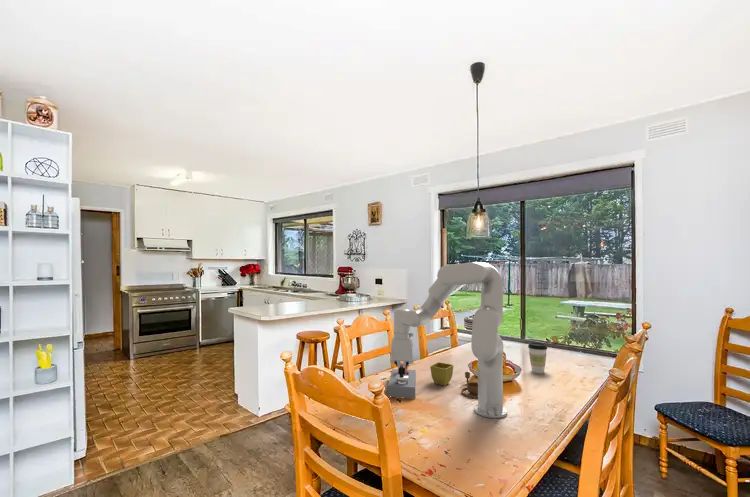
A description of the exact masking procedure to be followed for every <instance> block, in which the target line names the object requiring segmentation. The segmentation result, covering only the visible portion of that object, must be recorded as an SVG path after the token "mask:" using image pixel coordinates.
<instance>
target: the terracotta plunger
mask: <svg viewBox="0 0 750 497" xmlns="http://www.w3.org/2000/svg"><path fill="white" fill-rule="evenodd" d="M403 362H404V361H400V364H401V367H402V365H403ZM406 362H407V361H406ZM408 367H410V364H408V365H407V366H406V367H405V375H407V370H408Z"/></svg>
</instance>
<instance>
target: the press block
mask: <svg viewBox="0 0 750 497" xmlns="http://www.w3.org/2000/svg"><path fill="white" fill-rule="evenodd" d="M416 374H417V372H416V369H407V375H408V376H409V380H408V381H407V384H398V381H397V380H396V375H398V368H395V369H394V368H392V369H391V373H390V377H389V381H388V385H387V397H388V396H389V397H390V396H391V397H404V398H415V399H416V389H415V388H416V386H417V385H416V383H417V382H416V381H417V379H416V378H417V376H416ZM404 398H403V399H404Z"/></svg>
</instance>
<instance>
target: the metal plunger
mask: <svg viewBox="0 0 750 497" xmlns="http://www.w3.org/2000/svg"><path fill="white" fill-rule="evenodd" d="M396 380H397V381H398V384H407V381H408V380H409V376H408V375H403V377H402V375H401V377H400V374H398V375H396Z"/></svg>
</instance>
